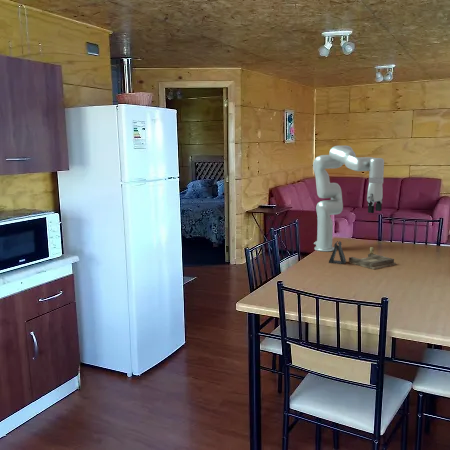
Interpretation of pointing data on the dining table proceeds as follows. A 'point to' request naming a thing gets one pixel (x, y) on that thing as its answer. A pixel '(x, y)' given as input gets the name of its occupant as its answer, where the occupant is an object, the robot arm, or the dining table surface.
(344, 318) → the dining table surface
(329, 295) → the dining table surface
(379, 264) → the board
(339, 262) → the phone stand
